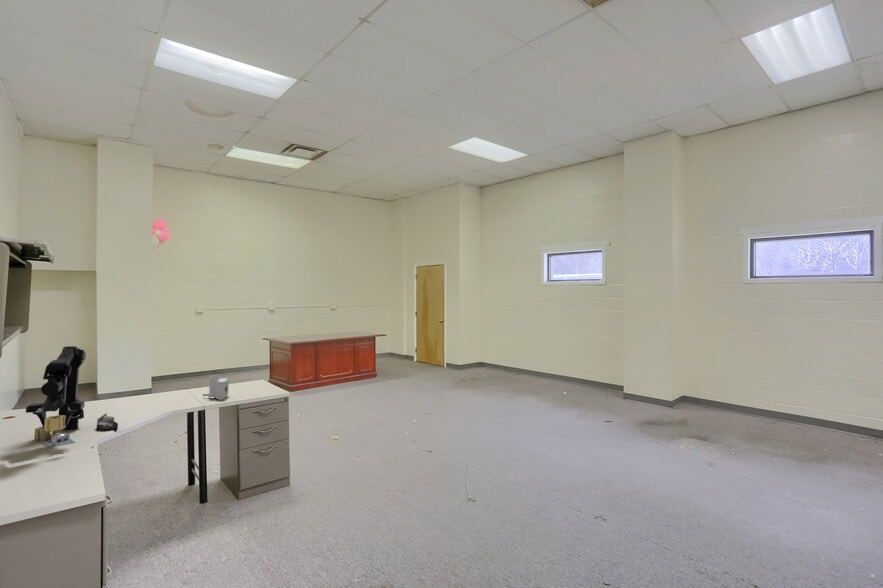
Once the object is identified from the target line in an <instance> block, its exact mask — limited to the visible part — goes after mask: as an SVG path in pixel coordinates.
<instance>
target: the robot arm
mask: <svg viewBox="0 0 883 588" xmlns="http://www.w3.org/2000/svg"><path fill="white" fill-rule="evenodd" d="M85 360H86V351H85V350H84V349H80V348H79V347H78V346H73V345H72V346H70V345H69V346H67V345H66V346H64V347H63V348H62V351H61V353H60V354H59V356H57V358H56V359H54V360H51V361H50V362H49V363H48V364H47V365H46V366H45V369H44V373H43V377H42V380H47V382H45V383H43V385H42V386H41V388H40V391H41V393H42V394H43V395H44V396H46V399H45V400H44V402H35V403H34V402H33V403H31V404H29V405H26V407H25V413H27V414H28V413H29V414H30V413H32V415H36V416H37V418H38V419H39V420H40V423H41V427H44V422H45V418H47V412H57V411H58V415H59V416H62V415H65V416H66V419H65V426H66V427H65V428H62V430H63V431H74V430H78V429H79V420H82V419H85V418H84V417H85V412H84V408H85V404H86V403H85V402H84V401H83V400H80V399H79V398H78V391H79V388H78V387H79V378H80V377H79V375H80V368H81V367H82V365H83V364H84V362H85Z"/></svg>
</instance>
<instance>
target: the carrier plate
mask: <svg viewBox="0 0 883 588" xmlns="http://www.w3.org/2000/svg"><path fill="white" fill-rule="evenodd" d="M37 443H39V444H41V445H42V446H43V447H44V448H46V449H50V448H55V447H60V446H67V445H72V444H77V442H76V441H74V440H73V439H72V438H71V437H70V438H69V440H65V441H62V442H61V441H60V442H57V437H56V436H54V437H52V442H51V441H50V440H45V441H37Z"/></svg>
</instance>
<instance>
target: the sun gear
mask: <svg viewBox="0 0 883 588" xmlns="http://www.w3.org/2000/svg"><path fill="white" fill-rule="evenodd" d="M54 436H56V437H57V442H60V441H61V442H62V441H65V440H69V438H70V439H71V437H70V436H71V433H70V432H66V431H64V432H56V434H52V435H51V440H50V441H51V442H52V437H54Z"/></svg>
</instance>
